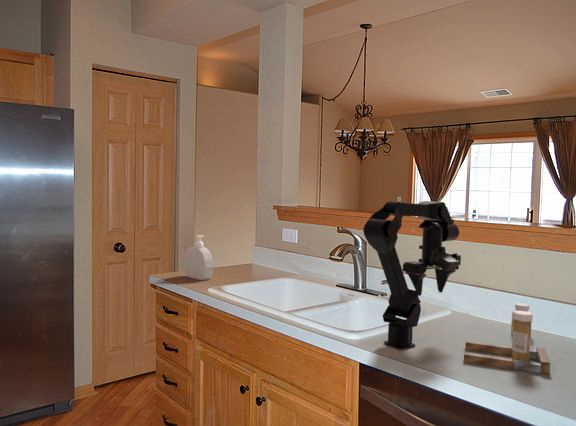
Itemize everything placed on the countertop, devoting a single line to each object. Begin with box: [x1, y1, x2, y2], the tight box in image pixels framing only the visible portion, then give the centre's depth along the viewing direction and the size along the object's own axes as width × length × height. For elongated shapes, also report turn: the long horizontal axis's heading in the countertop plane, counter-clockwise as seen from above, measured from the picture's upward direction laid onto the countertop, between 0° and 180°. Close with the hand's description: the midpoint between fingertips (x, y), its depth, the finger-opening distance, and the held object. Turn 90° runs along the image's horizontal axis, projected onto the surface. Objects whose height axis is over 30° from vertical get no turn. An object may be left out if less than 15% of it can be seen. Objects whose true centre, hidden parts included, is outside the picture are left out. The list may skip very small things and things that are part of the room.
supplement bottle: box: [510, 302, 530, 335], centre depth 152 cm, size 5×5×10 cm
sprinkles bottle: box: [510, 311, 534, 362], centre depth 128 cm, size 5×5×13 cm
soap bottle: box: [183, 234, 215, 281], centre depth 227 cm, size 16×5×20 cm, turn 49°
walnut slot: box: [463, 340, 551, 375], centre depth 130 cm, size 20×12×3 cm, turn 68°
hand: (430, 293), depth 148 cm, fingers open, 9 cm apart
